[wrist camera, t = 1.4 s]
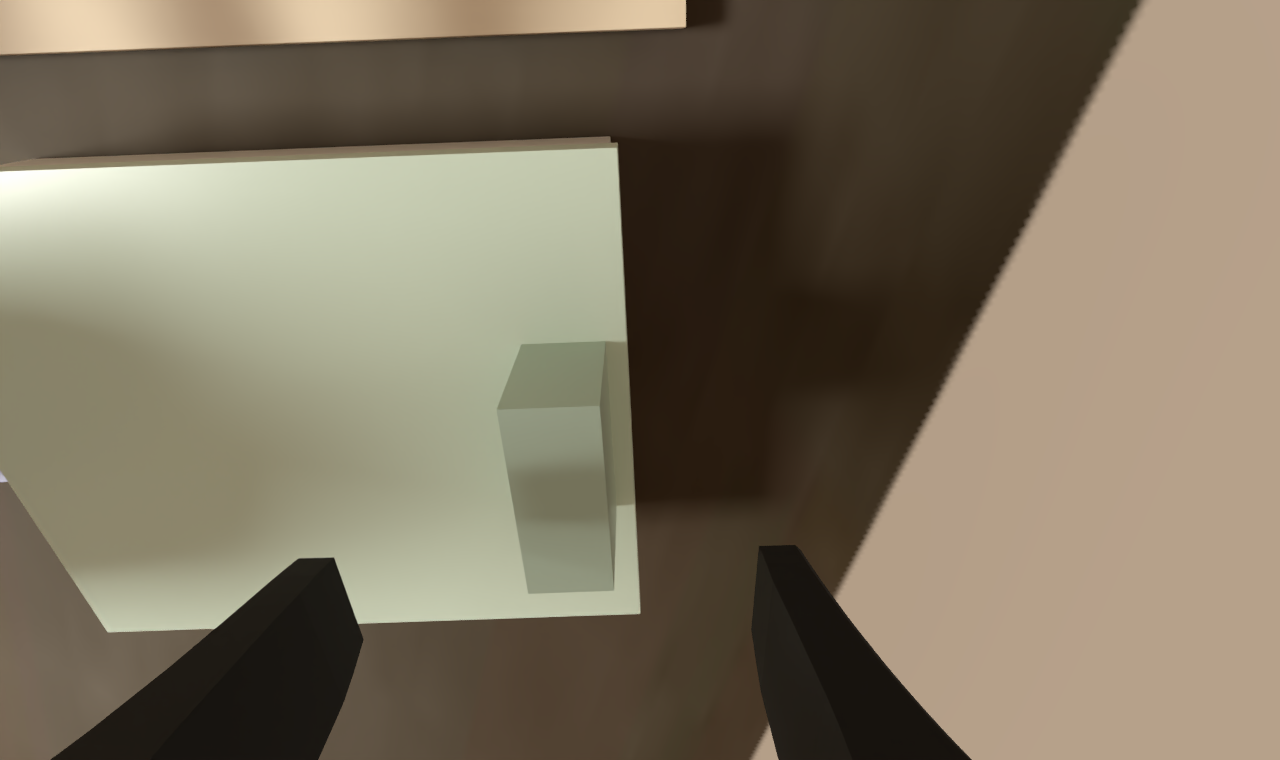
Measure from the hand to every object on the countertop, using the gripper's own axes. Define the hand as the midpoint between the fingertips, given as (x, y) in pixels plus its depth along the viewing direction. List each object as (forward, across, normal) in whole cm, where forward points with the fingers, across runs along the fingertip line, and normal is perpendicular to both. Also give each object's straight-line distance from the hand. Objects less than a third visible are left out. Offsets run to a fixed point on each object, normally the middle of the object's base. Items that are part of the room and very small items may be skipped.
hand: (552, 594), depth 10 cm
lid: (+6, +7, 0) cm, 9 cm away
